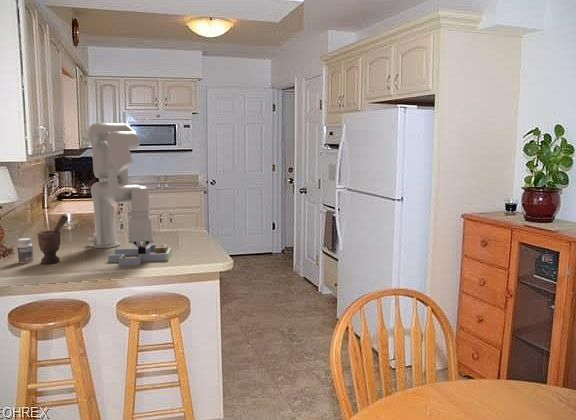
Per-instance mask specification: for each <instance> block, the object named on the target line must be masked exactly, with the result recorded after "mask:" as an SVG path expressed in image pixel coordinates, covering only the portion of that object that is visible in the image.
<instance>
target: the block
mask: <svg viewBox="0 0 576 420" xmlns="http://www.w3.org/2000/svg"><path fill="white" fill-rule="evenodd" d="M168 248H169V245H168V244H167V245H166V246H156V247H155V254H162V253H166V252H167V250H168Z"/></svg>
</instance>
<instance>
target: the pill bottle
mask: <svg viewBox="0 0 576 420" xmlns="http://www.w3.org/2000/svg"><path fill="white" fill-rule="evenodd" d="M17 241H18V245H17V255H18V257H17V259H18V263H20V264H30V263H33V262H34V259H35V258H34V247H33V246H34V245H33V243H31V241H32V239H31V238H30V237H28V238H27V237H24V238H19V239H18V240H17Z"/></svg>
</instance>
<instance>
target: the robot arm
mask: <svg viewBox="0 0 576 420" xmlns="http://www.w3.org/2000/svg"><path fill="white" fill-rule="evenodd" d="M87 133H88V140H89V143H90V147H91V149H92V151H91V152H92V168H93V175H94V177H95V178H97V179H103V181H98V182H94V183H93V184H92V185H91V187H90V193H91V198H92V203H93V204H92V205H93V211H94V227H95V228H94V232H95V237H87V238H86V243H92V247H93V248H95V249H109V248H116V247H119V246H120V245H121V243H120V241H117V224H116V223H117V222H116V210H115V207H114V206H113V204H112V203H111V201H113V202H115V203H119V204H121V203H122V204H123V203H130V208H131V209H130V210H131V211H130V212H127V215H128V216H129V217H130V218H129V220H128V243H129V244H133V245H135V247H136V248H138V254H146V248H147V247H148V246H149V245H150V244H152V243H155V239H154V227H153V220H152V217H151V216H150V200H149V199H150V198H149V197H150V195H149V194H150V193H149V188H148V187H147V186H143V185H141V184H129V169H128V168H130V167H132V165H133V163H134V161H133V158H132V154H131V151H130V150H132V151H133V150H137V149H138V148H140V144H141V143H140V141H141V140H140V137H139V134H138V133H137V132H136V131H135V130H134V129H133V128H131V126H129V125H127V124H126V123H123V122H95V123H92V124H91V125H90V126H89V128H88V132H87ZM104 179H108V180H104ZM141 243H142V244H141Z"/></svg>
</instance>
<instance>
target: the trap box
mask: <svg viewBox="0 0 576 420" xmlns="http://www.w3.org/2000/svg"><path fill="white" fill-rule="evenodd" d="M166 245H168V244H148V245H147V246H146V254H138V247H134V248H133V247H132V248H130V247H129V248H114V254H108V255H107V261H108V263H118V267H129V266H134V267H135V266H140V265H141V264H142V262H164V261H165V262H168V261H169V260H170V257H171V256H172V253H173V251H172V247H170V246H169V247H168V250H167V252H166V253H162V254H155V247H156V246H166ZM125 255H126V256H136V257H126V256H125Z"/></svg>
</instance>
